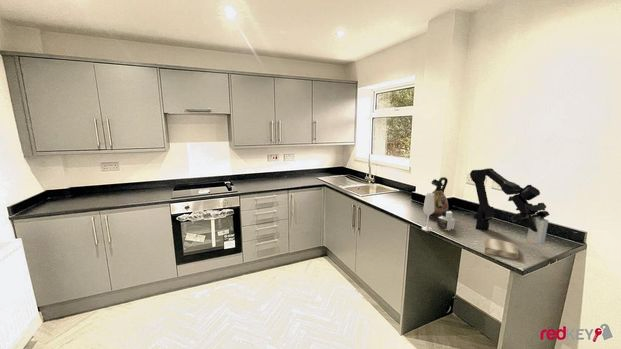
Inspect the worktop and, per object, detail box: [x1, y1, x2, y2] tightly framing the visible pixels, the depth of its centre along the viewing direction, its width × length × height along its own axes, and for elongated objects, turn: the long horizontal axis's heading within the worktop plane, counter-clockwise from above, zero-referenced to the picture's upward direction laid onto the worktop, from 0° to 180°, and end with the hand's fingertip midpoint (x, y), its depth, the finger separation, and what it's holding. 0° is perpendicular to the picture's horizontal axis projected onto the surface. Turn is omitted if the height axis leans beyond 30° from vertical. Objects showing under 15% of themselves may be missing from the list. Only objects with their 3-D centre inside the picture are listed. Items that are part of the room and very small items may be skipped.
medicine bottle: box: [436, 209, 456, 231], centre depth 168 cm, size 7×7×12 cm
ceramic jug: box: [429, 177, 449, 219], centre depth 189 cm, size 17×15×30 cm
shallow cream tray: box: [483, 237, 519, 260], centre depth 138 cm, size 14×14×3 cm
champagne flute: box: [421, 192, 434, 232], centre depth 166 cm, size 7×7×24 cm
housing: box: [526, 217, 549, 245], centre depth 134 cm, size 5×5×13 cm
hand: (540, 231), depth 133 cm, fingers closed on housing, 5 cm apart
